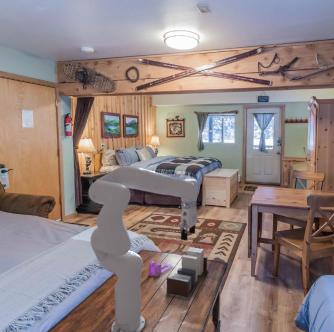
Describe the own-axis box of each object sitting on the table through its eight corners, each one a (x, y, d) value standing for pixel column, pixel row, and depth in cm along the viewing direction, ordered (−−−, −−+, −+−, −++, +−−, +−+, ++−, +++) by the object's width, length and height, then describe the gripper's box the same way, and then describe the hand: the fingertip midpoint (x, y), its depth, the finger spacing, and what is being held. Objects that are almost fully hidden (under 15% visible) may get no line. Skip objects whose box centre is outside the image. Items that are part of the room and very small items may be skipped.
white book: (195, 282, 139) (196, 258, 137) (181, 280, 141) (181, 256, 139) (197, 280, 141) (197, 257, 139) (183, 278, 143) (183, 254, 141)
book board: (187, 299, 127) (188, 281, 126) (166, 295, 130) (166, 277, 128) (206, 272, 152) (207, 256, 151) (188, 269, 155) (188, 253, 153)
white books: (200, 275, 146) (200, 252, 144) (186, 273, 148) (186, 250, 146) (203, 271, 150) (203, 249, 149) (190, 269, 152) (190, 247, 151)
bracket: (156, 278, 144) (156, 266, 143) (148, 275, 147) (148, 263, 146) (173, 267, 155) (173, 256, 154) (166, 265, 158) (166, 253, 157)
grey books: (187, 295, 129) (187, 280, 128) (170, 291, 131) (170, 277, 130) (195, 283, 138) (195, 270, 137) (179, 280, 140) (179, 267, 139)
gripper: (188, 209, 126) (188, 244, 128) (202, 200, 143) (201, 231, 145) (174, 207, 128) (173, 241, 130) (189, 199, 144) (188, 229, 147)
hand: (188, 236), depth 137 cm, fingers open, 9 cm apart
